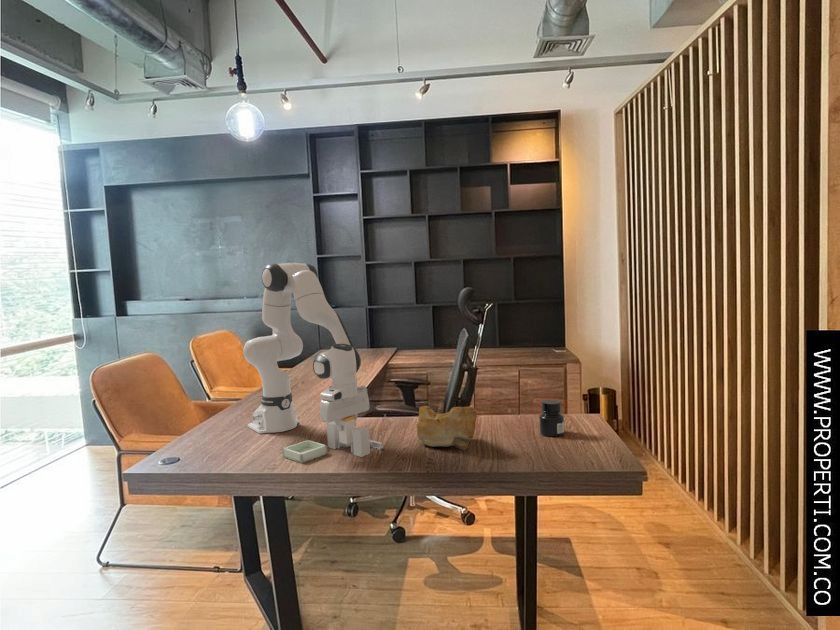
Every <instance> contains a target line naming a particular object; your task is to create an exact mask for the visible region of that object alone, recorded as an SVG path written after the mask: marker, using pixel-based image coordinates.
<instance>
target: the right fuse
mask: <svg viewBox="0 0 840 630" xmlns="http://www.w3.org/2000/svg"><path fill="white" fill-rule="evenodd" d="M352 432H353V450H354V453H353V456H357V457H360V458H362V457H363V458H364V457H366V456H368V455H370V454H371V447H370V440H371V439H370V428H369V427H366V426H361V425H360V426H358V427H355V429H352ZM369 439H370V440H369ZM365 455H366V456H365Z"/></svg>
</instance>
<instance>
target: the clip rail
mask: <svg viewBox="0 0 840 630" xmlns="http://www.w3.org/2000/svg"><path fill="white" fill-rule="evenodd" d="M369 440H370V448H372V447H373V448H372V449H376V448H377V449H376V450H382V448H383V449H384V446H383V445H384V443H383V442H380V441H377V440H374V439H370V438H369ZM345 447H346V448H348V447H350V454H353V455H354V450H353V442H352V443H349V444H344V443H341V442H339V441H338V448H337V450H339V449H340V450H343V449H345ZM342 448H343V449H342Z"/></svg>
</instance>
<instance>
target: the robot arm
mask: <svg viewBox="0 0 840 630" xmlns="http://www.w3.org/2000/svg"><path fill="white" fill-rule="evenodd" d="M261 283H262V284H263V286H264V291H263V297H262V311H261V313H262V314H261V315H262V316H261V320H262V322H263V324H264V325H265V326H267V328H269V329H270V328H271V330H272V335H266V336H258V337H255V338H251V339H248V340H247V341H246V342H245V344H244V345H243V349H242V354H243V357H244V359H245V361H247V363H248V364H250V365H252V366H253V367H254V369H256V370H257V371H258V374H259V375H260V380H261V385H262V395H260V400H261V401H260V405H259V406H258V407H257V408H256V410H254V411H253V413H252V422H250V423H248V424H247V427H248V428H249V429H250V430H252V431H254V432H256V433H257V434H270V433H282V432H287V431H290V430H293V429H295V428H296V427H297V426H298V425H299V423H300V422H299V419H297V414H296V408H295V404H294V403H293V393H292V391H291V378H290V375H289V373H288V372H287V371H285V370H283V369H280V368H279V365H278V362H280V361H287V360H291V359H293V358H295V357H298V356H300V355H301V354H302V352H303V348H304V343H303V339H302V338H301V337H300V336H299V335H298V334H297V333H296V332H295V330H294V328H293V327H292V322H291V312H292V309H291V308H292V295H293V300H294V304H295V307H296V310H297V313H298V315H299V316H300V318H302V320H304V321H306V322H308V323H311V324H315V325H319V326H321V327H324V328H325V329H327V330H328V331H329V333H330V334H331V336H332V338H333V340H334V342H335V344H333V345H332V346H331V347H330V349H328V350H325V351H324V352H321V353H318V354H316V356H315V357H314V359H313V363H312V369H313V373H314V374H315V376H316V377H317V378H319V379H321V380H329V379H331V385H330V386H329V387H327V388H326V389H325V390H323V391H322V392H320V394H319V397H320V399H321V401H320V404H319V418H320V421H321V422H323V423H326V424H327V423H330V422H333V421H334V422H335V424H336V425H337V429H338V431H343V430H344V426H343V425H341V423H340V422H341V419H342V418H346V417H349V416H354V422H355V427H356V421H357V419H358V416H359V415H358V414H361V413H364V412H367V411H369V409H370V398H369V395H368V388H367V387H366V386H364V385H360V386H358V379H357V376H356V374H357V373H358V371H359V370H360V368H361V365H362V359H361V356H360V353H359V352H358V351H357V349H356V348H355V345H354V344H353V341H352V340H351V338H350V335H349V333H348V332H347V331H348V330H347V329H346V327H345V324H344V322H343V321H342V318H341V317H340V315H339V313H338V312H337V311H336V310H335V309H333V308H332V306H331V305H330V304H329V303H328V301H327V299H326V296H325V293H324V290H323V287H322V285H321V283H320V280H319V276H318V272H317V269H316V267H315V266H314V265H312V264H310V263H305V262H304V263H303V262H301V263H299V262H287V263H286V262H285V263H271V264H267V265H266V266H265V267H264V268H263V269H262V273H261Z"/></svg>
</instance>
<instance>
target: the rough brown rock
mask: <svg viewBox="0 0 840 630" xmlns="http://www.w3.org/2000/svg"><path fill="white" fill-rule="evenodd" d="M418 410H419V411H418V421H417V423H416V428H417V429H416V431H417V433H416V434H417V435H416V436H417V438H418V440H419V441H421V443H422V444H424V445H425V446H428V447H435V448H436V447H453V446H454V447H456V448H458V449H459V450H462V451H465V450H466V449H467V448H468V447H469V444H470V440H471V439H473V438H474V435H475V431H476V426H477V425H476V421H477V417H478V413H477V409H476V408H474V407H472V406H456V407H455V406H453V407H451V408H450V410H449V411H448V412H445V413H438V412H436V411H434V409H433V408H432V407H430V406H429V405H423V406H422V405H421V406H420V407H419V409H418Z"/></svg>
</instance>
